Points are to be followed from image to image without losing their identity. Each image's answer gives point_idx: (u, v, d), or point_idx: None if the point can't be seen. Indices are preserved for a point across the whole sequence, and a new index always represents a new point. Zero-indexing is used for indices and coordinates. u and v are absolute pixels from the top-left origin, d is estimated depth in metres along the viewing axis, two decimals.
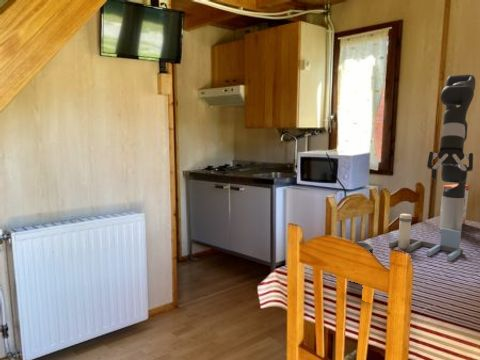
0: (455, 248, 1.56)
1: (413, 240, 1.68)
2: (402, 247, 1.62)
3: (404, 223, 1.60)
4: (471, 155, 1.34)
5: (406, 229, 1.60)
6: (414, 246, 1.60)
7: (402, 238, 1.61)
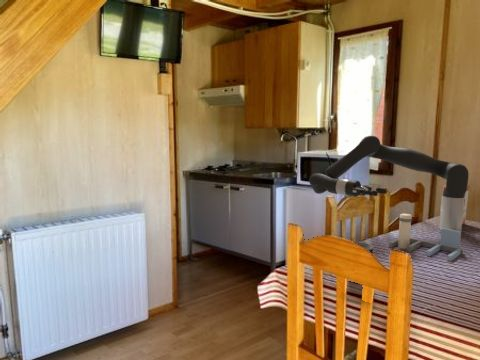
0: (455, 248, 1.56)
1: (413, 240, 1.68)
2: (402, 247, 1.62)
3: (404, 223, 1.60)
4: (354, 194, 1.70)
5: (406, 229, 1.60)
6: (414, 246, 1.60)
7: (402, 238, 1.61)
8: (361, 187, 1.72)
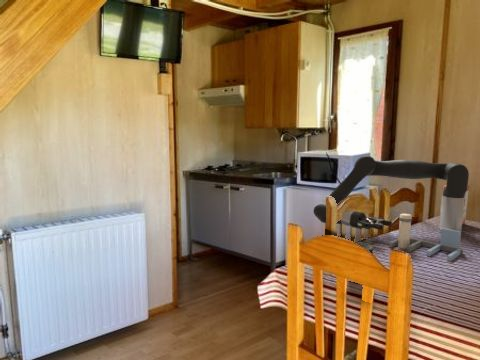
0: (455, 248, 1.56)
1: (413, 240, 1.68)
2: (402, 247, 1.62)
3: (404, 223, 1.60)
4: (359, 227, 1.70)
5: (406, 229, 1.60)
6: (414, 246, 1.60)
7: (402, 238, 1.61)
8: (366, 220, 1.72)
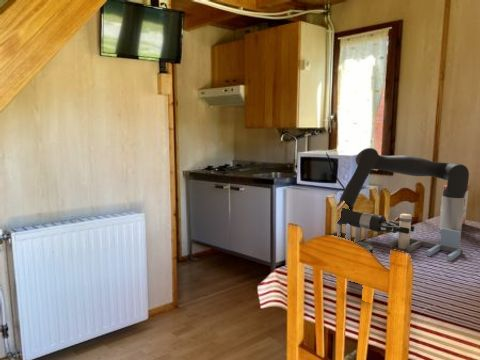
0: (455, 248, 1.56)
1: (413, 240, 1.68)
2: (402, 247, 1.62)
3: (404, 223, 1.60)
4: (383, 231, 1.63)
5: None
6: (414, 246, 1.60)
7: (402, 238, 1.61)
8: (388, 223, 1.65)
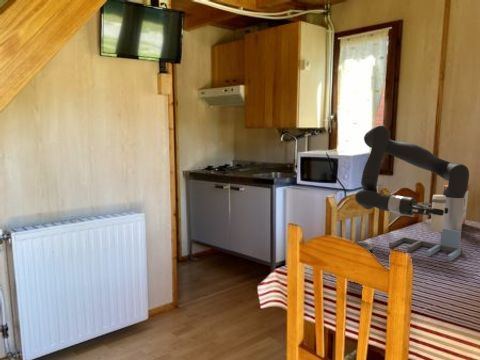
0: (455, 248, 1.56)
1: (413, 240, 1.68)
2: (435, 230, 1.51)
3: (438, 204, 1.50)
4: None
5: None
6: (414, 246, 1.60)
7: (435, 220, 1.51)
8: (420, 205, 1.55)
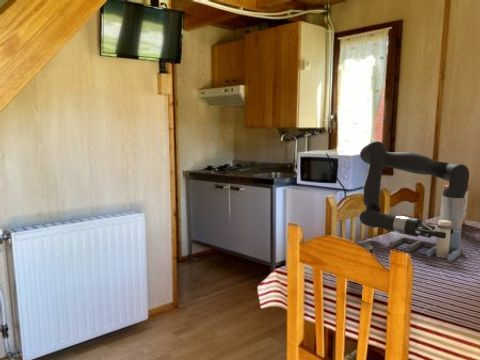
0: (455, 248, 1.56)
1: (413, 240, 1.68)
2: (441, 256, 1.51)
3: (443, 230, 1.49)
4: (417, 234, 1.52)
5: (446, 236, 1.49)
6: (414, 246, 1.60)
7: (441, 246, 1.50)
8: (424, 227, 1.54)
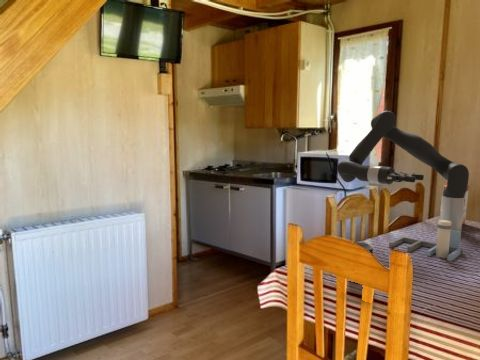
0: (455, 248, 1.56)
1: (413, 240, 1.68)
2: (441, 256, 1.51)
3: (443, 230, 1.49)
4: (389, 180, 1.59)
5: (445, 236, 1.49)
6: (414, 246, 1.60)
7: (441, 246, 1.50)
8: (396, 173, 1.60)
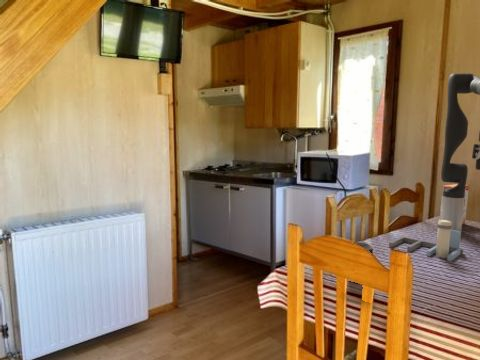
0: (455, 248, 1.56)
1: (413, 240, 1.68)
2: (441, 256, 1.51)
3: (443, 230, 1.49)
4: None
5: (445, 236, 1.49)
6: (414, 246, 1.60)
7: (441, 246, 1.50)
8: None
